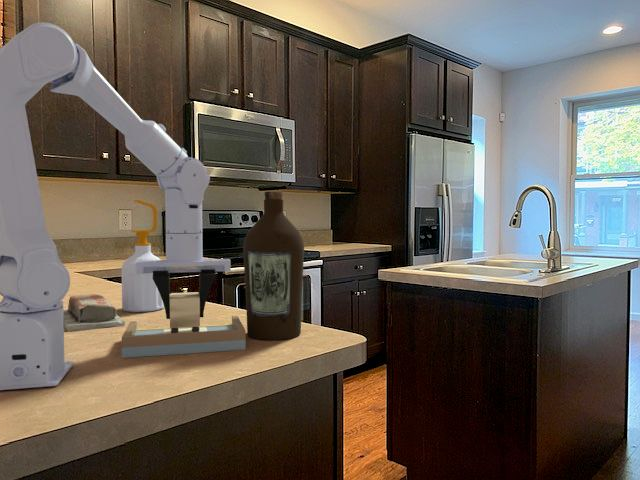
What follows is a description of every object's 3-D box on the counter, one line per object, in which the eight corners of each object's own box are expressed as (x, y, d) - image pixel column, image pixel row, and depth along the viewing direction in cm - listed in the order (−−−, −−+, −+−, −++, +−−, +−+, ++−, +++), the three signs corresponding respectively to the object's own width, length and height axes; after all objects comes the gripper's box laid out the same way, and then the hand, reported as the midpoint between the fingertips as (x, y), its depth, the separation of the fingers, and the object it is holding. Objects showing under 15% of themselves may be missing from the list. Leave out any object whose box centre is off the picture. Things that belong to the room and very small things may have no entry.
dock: (245, 349, 77) (245, 330, 77) (121, 357, 73) (121, 337, 73) (237, 332, 89) (237, 315, 89) (130, 338, 84) (130, 321, 84)
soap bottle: (121, 307, 114) (119, 200, 113) (162, 304, 118) (160, 200, 117) (123, 314, 106) (121, 198, 105) (167, 310, 110) (166, 199, 109)
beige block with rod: (200, 334, 78) (199, 298, 78) (170, 335, 77) (169, 299, 77) (198, 324, 86) (198, 291, 86) (171, 325, 85) (171, 292, 85)
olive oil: (251, 327, 94) (250, 193, 92) (307, 328, 92) (307, 193, 91) (236, 340, 83) (235, 190, 82) (299, 342, 82) (299, 190, 81)
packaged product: (58, 294, 105) (108, 291, 110) (58, 317, 105) (109, 313, 110) (66, 307, 90) (125, 302, 95) (67, 334, 90) (125, 327, 95)
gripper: (227, 232, 86) (228, 310, 86) (138, 232, 82) (139, 314, 83) (231, 233, 79) (232, 318, 80) (134, 234, 75) (135, 323, 76)
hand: (185, 317), depth 81 cm, fingers closed on beige block with rod, 4 cm apart
